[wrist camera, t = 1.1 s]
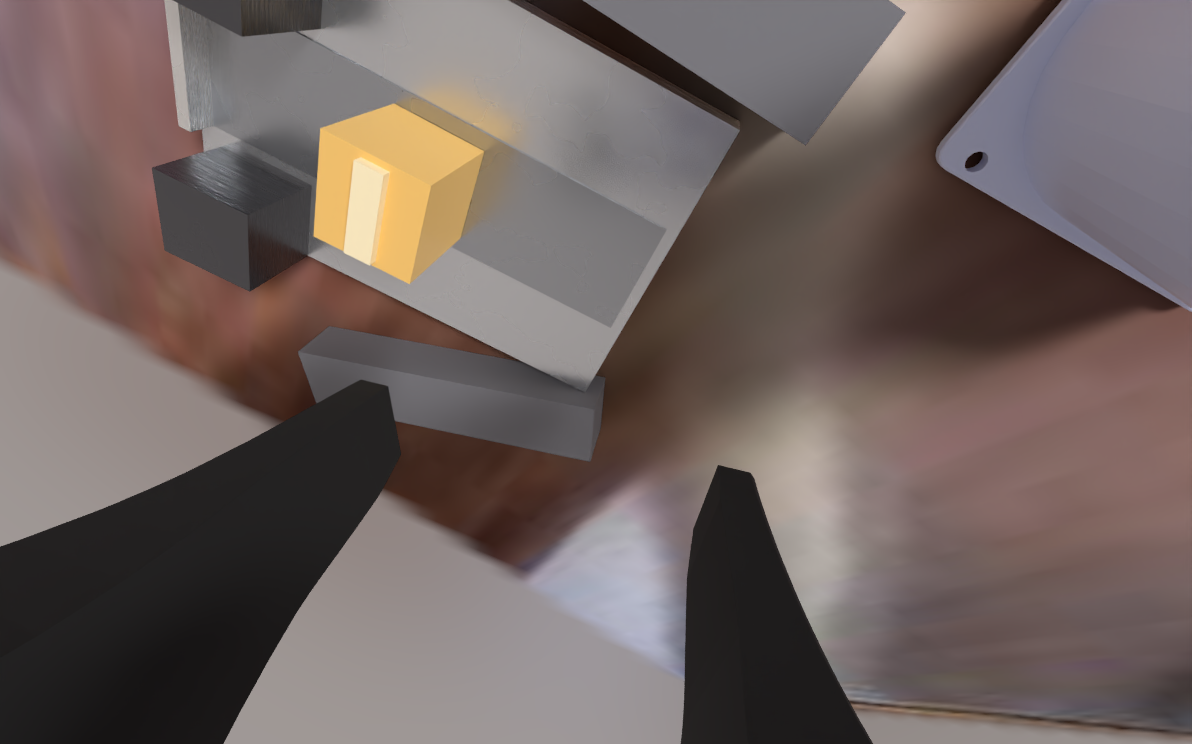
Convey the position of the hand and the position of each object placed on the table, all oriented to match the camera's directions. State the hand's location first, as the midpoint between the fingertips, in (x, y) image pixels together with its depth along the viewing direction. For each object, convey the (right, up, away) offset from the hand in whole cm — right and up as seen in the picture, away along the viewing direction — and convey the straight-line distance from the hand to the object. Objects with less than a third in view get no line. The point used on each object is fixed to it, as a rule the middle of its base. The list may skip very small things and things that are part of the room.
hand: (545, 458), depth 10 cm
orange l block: (-4, +8, +6) cm, 11 cm away
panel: (-4, +9, +7) cm, 12 cm away
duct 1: (-5, +2, +13) cm, 14 cm away
